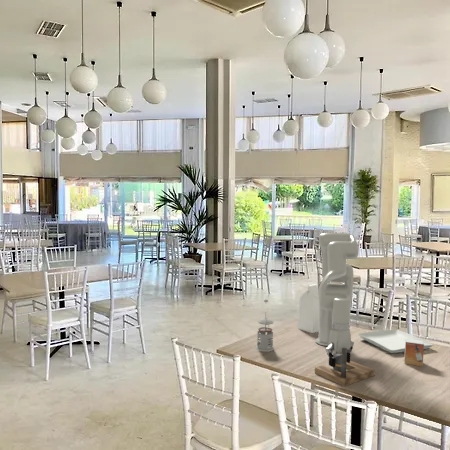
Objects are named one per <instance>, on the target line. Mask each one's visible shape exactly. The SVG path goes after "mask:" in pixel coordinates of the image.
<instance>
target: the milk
mask: <svg viewBox="0 0 450 450" xmlns="http://www.w3.org/2000/svg"><path fill="white" fill-rule="evenodd" d="M318 288H319V286H318V284H316V283H315V284H314V283H313V284H310V285H308V288H307V290H306V291H305V292H304V293H303V294H302V295H300V297H299V305H298V315H297V316H298V317H297V325H296V326H297V327H296V328H298V330H301V331H304V332H308V333H311V334H316V333H319V294H318ZM315 332H316V333H315Z"/></svg>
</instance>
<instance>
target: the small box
mask: <svg viewBox="0 0 450 450" xmlns="http://www.w3.org/2000/svg"><path fill="white" fill-rule="evenodd" d="M424 350H425V349H424V341H418V340H410V339H406V341H405V352H404V360H403V361H404V364H407V365H413V366H416V367H417V366H418V367H424V355H425V354H424Z"/></svg>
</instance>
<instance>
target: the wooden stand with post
mask: <svg viewBox="0 0 450 450" xmlns="http://www.w3.org/2000/svg"><path fill="white" fill-rule="evenodd" d="M348 352H351V353H352V352H353V349H352V350H351V349H348V350H347V348H342V352H341V354H342V363H341V373H340V372H338V371H336V370H333V367H331V368H330V367H329V366H326V365H324V364H322V365H319V366H315V367H314V374H317V376H318V375H319V376H321V377H322V378H325V379H327V380H329V381H331V382H334V383H336V384H339V385H340V386H343V387H346V386H349V385H351V384H354V383H358V382H359V381H362V380H363V381H364V380H365V379H368V378H372V377H375V371H376V370H375V369H374V368H371V367H368V366H367V365H363V364H360V363H359V362H358V363H357V362H355V361H353V360H350V363H348V362H347V353H348Z"/></svg>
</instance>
